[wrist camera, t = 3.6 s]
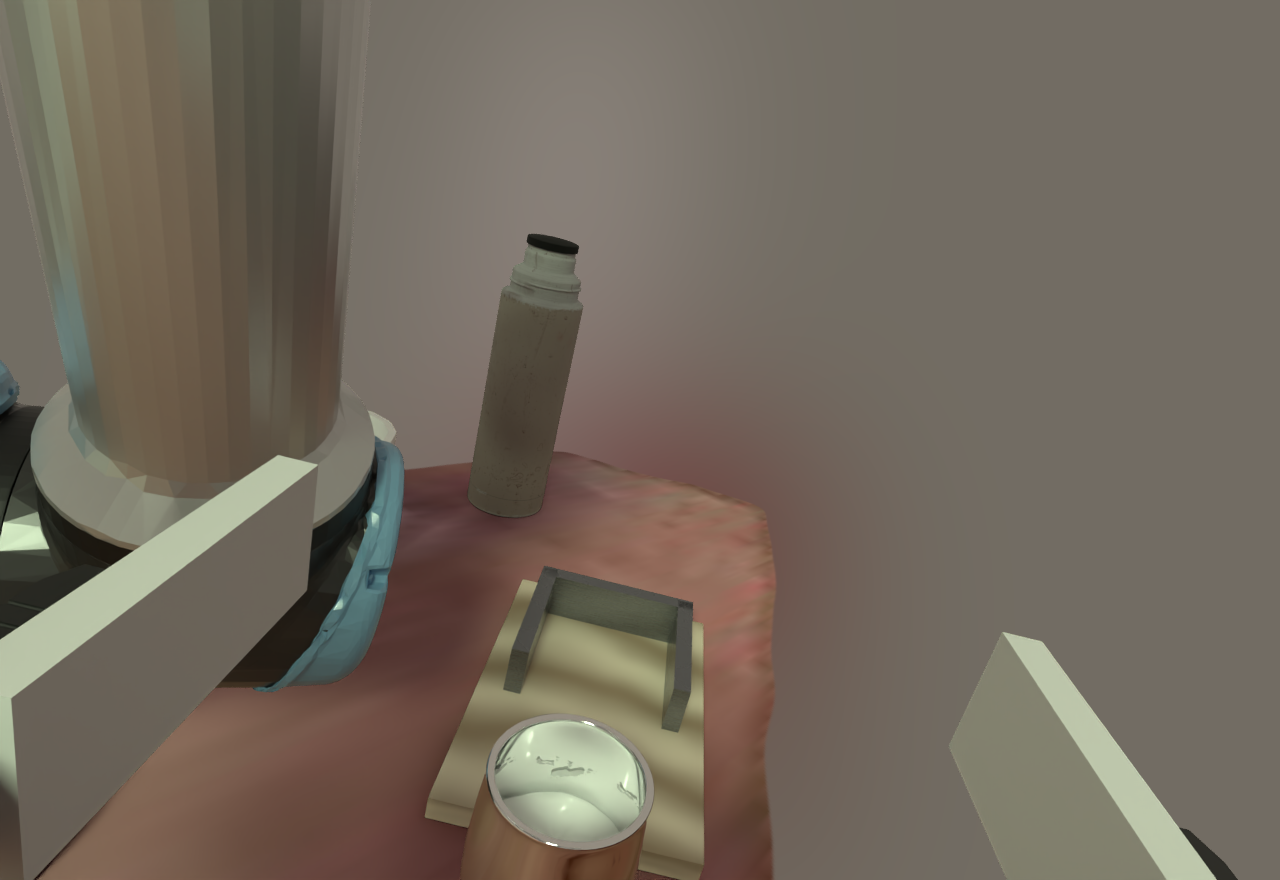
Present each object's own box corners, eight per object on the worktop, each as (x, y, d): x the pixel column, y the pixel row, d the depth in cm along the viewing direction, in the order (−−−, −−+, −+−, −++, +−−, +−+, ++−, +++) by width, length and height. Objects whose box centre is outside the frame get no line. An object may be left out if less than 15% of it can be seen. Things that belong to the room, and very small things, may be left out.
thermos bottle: (507, 477, 86) (553, 230, 76) (556, 507, 82) (612, 251, 72) (451, 491, 80) (494, 224, 70) (502, 525, 76) (555, 246, 66)
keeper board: (697, 883, 43) (704, 865, 42) (424, 817, 43) (428, 797, 42) (698, 637, 66) (703, 623, 65) (519, 593, 65) (522, 579, 65)
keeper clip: (678, 732, 52) (691, 692, 51) (503, 689, 52) (511, 648, 51) (682, 637, 62) (692, 602, 61) (536, 601, 62) (544, 565, 61)
